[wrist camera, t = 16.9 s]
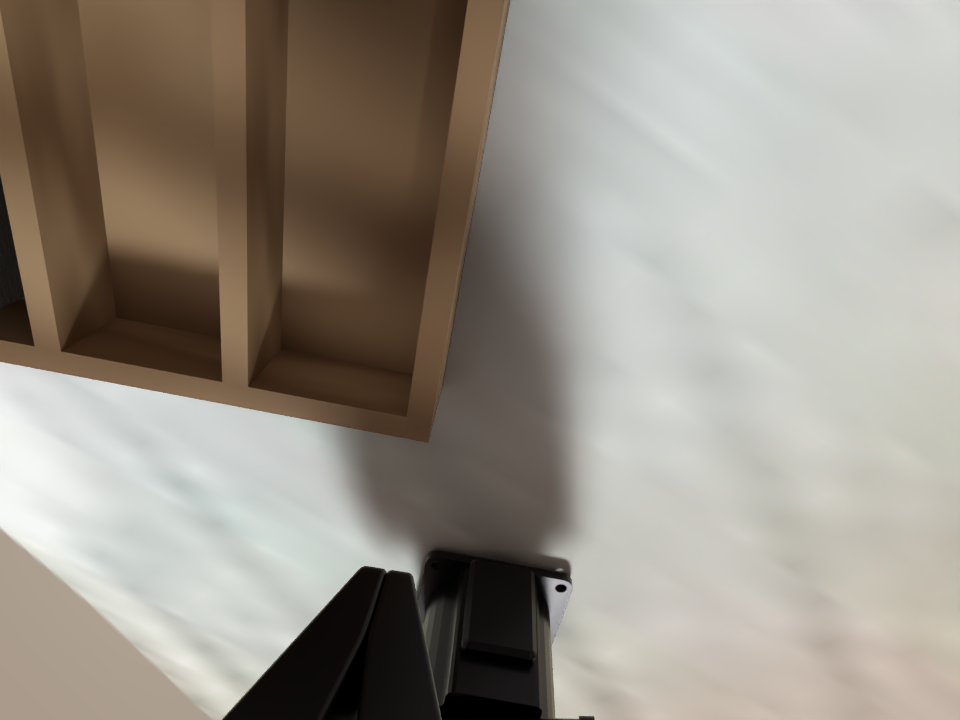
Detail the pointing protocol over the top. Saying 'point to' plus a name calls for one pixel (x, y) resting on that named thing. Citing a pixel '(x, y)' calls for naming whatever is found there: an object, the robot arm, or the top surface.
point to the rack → (246, 196)
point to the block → (8, 259)
